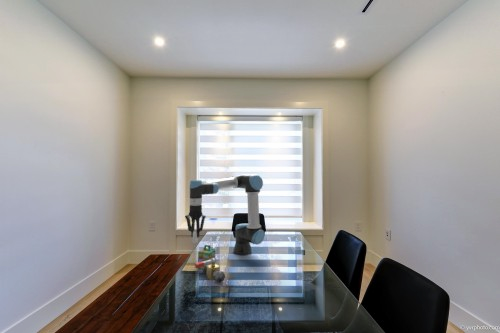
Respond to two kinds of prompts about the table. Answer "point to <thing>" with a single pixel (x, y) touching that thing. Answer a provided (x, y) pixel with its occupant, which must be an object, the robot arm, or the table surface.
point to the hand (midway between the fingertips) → (195, 242)
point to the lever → (205, 263)
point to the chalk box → (206, 254)
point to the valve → (214, 272)
